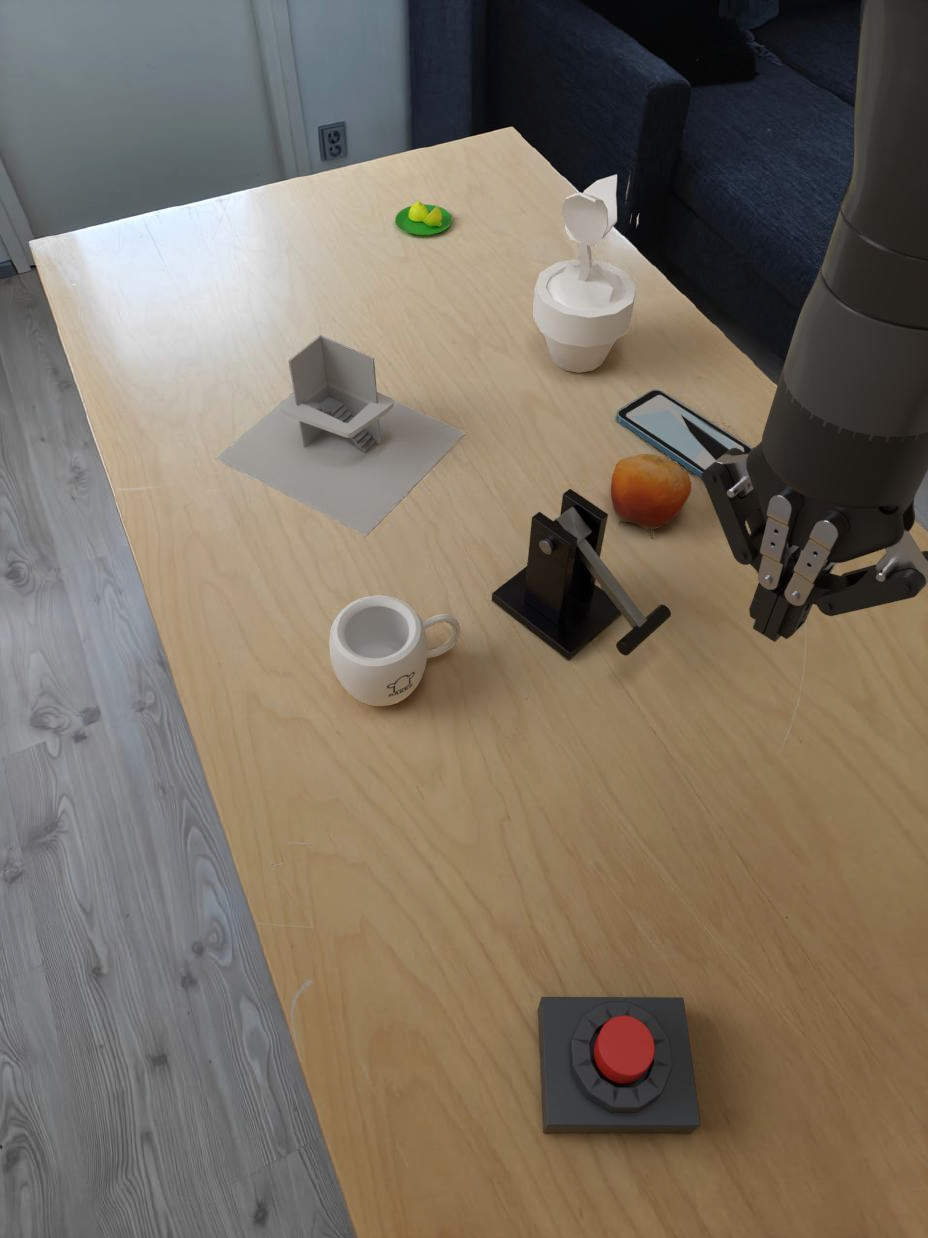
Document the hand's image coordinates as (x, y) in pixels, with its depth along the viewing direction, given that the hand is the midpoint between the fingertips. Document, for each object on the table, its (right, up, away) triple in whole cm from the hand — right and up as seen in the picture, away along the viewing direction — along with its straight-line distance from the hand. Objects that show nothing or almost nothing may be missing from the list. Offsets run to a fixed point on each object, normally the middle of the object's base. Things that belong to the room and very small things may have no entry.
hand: (772, 627), depth 54 cm
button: (-8, -28, +7) cm, 30 cm away
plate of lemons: (-24, +56, +77) cm, 98 cm away
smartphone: (+7, +21, +50) cm, 55 cm away
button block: (-8, -31, +11) cm, 34 cm away
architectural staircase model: (-32, +20, +49) cm, 62 cm away
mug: (-24, -5, +31) cm, 39 cm away
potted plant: (-4, +33, +59) cm, 68 cm away
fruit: (+1, +12, +44) cm, 45 cm away
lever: (-6, +4, +28) cm, 29 cm away
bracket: (-9, +2, +36) cm, 37 cm away
